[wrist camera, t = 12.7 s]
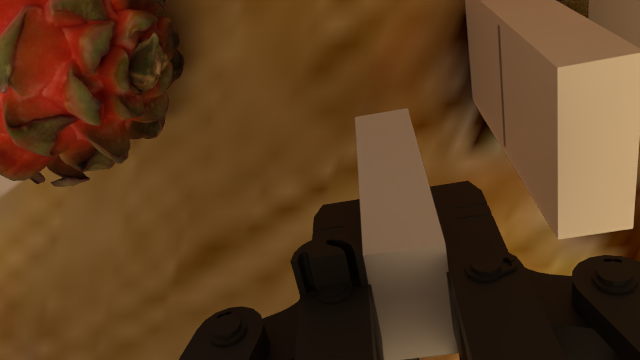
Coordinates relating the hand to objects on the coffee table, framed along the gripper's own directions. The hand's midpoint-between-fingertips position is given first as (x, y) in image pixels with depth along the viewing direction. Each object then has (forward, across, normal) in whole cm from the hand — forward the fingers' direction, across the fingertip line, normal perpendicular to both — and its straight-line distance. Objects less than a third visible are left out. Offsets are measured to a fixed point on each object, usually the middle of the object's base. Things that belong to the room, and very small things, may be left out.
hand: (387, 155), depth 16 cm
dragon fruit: (+9, -12, +3) cm, 16 cm away
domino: (+9, +5, 0) cm, 11 cm away
